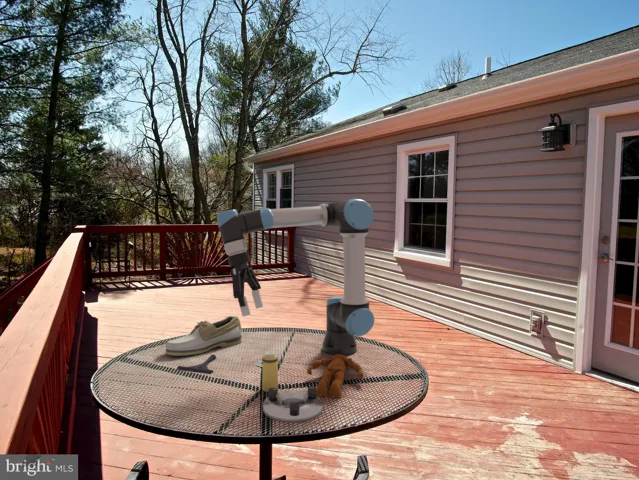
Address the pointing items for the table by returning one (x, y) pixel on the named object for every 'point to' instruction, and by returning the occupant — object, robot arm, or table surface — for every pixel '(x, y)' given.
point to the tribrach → (293, 405)
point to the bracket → (200, 366)
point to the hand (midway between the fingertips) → (253, 311)
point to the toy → (333, 374)
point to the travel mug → (269, 371)
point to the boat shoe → (207, 337)
